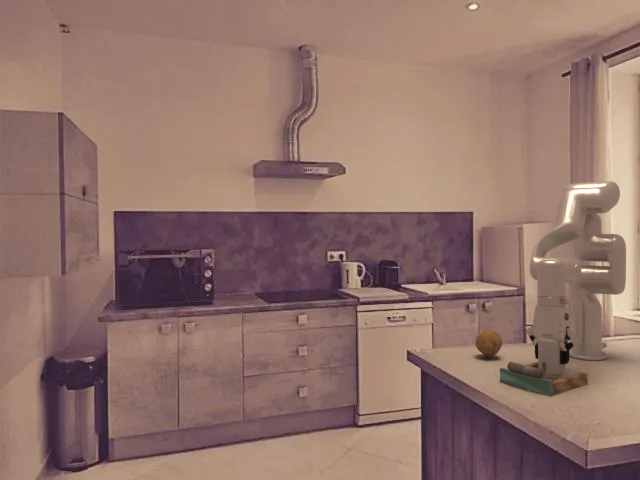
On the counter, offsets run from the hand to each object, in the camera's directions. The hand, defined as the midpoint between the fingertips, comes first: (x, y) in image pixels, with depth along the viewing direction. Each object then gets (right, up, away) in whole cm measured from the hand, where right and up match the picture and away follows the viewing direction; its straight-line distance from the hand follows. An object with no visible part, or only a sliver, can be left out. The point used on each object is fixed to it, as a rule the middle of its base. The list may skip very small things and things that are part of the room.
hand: (551, 360), depth 155 cm
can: (0, -4, 0) cm, 4 cm away
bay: (-3, -6, -2) cm, 7 cm away
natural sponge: (-10, -6, +27) cm, 29 cm away
